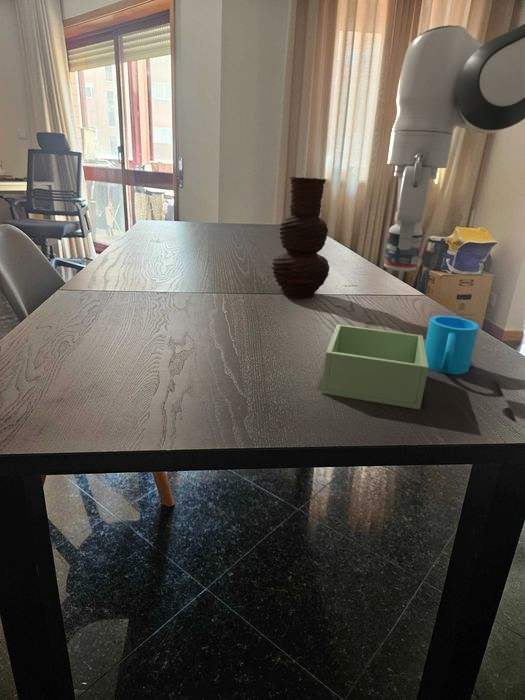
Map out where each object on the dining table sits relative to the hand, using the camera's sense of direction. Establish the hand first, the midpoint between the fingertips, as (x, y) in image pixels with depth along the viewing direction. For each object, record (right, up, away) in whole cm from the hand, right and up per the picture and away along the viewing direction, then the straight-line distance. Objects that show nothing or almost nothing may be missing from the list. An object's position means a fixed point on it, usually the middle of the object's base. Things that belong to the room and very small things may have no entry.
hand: (403, 246), depth 76 cm
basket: (-5, -22, +1) cm, 23 cm away
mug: (+10, -20, +8) cm, 24 cm away
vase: (-13, -2, +51) cm, 53 cm away
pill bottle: (0, -4, +1) cm, 4 cm away
